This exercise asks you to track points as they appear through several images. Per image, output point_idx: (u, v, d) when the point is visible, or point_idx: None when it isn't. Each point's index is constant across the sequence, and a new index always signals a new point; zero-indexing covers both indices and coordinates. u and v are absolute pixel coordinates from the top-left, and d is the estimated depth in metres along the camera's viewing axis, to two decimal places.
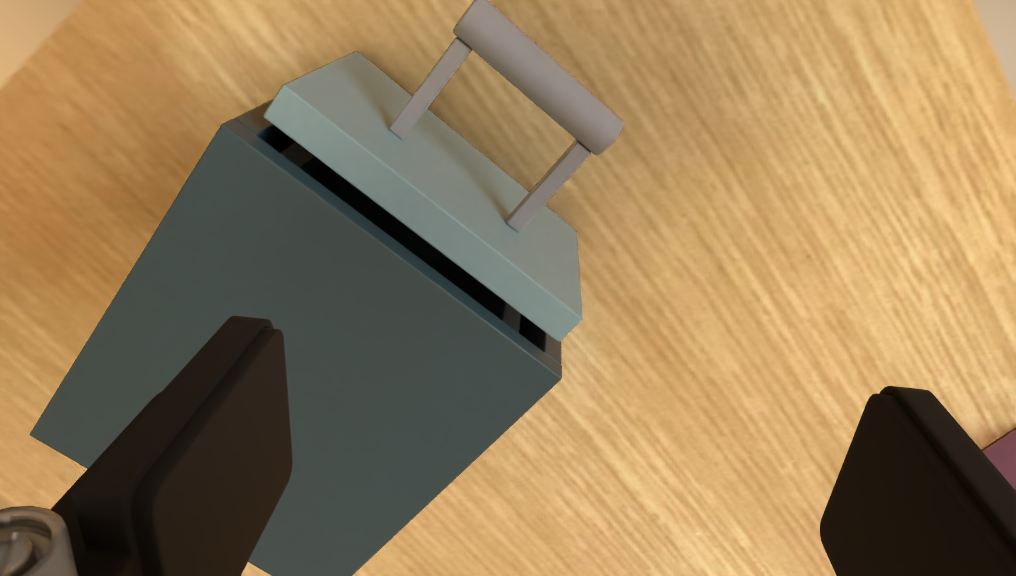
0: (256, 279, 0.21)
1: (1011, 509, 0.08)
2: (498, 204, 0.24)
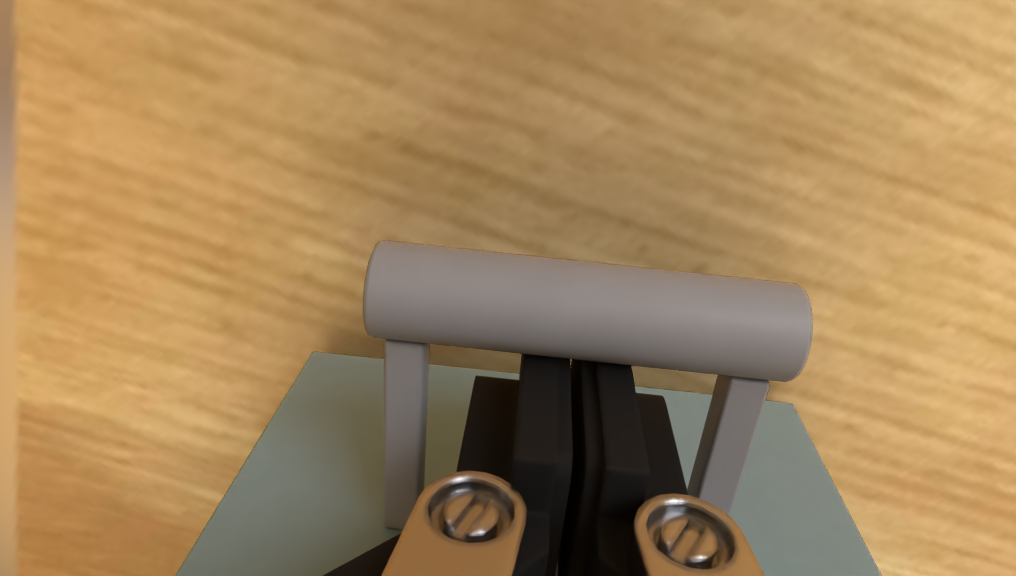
0: None
1: (619, 403, 0.09)
2: None
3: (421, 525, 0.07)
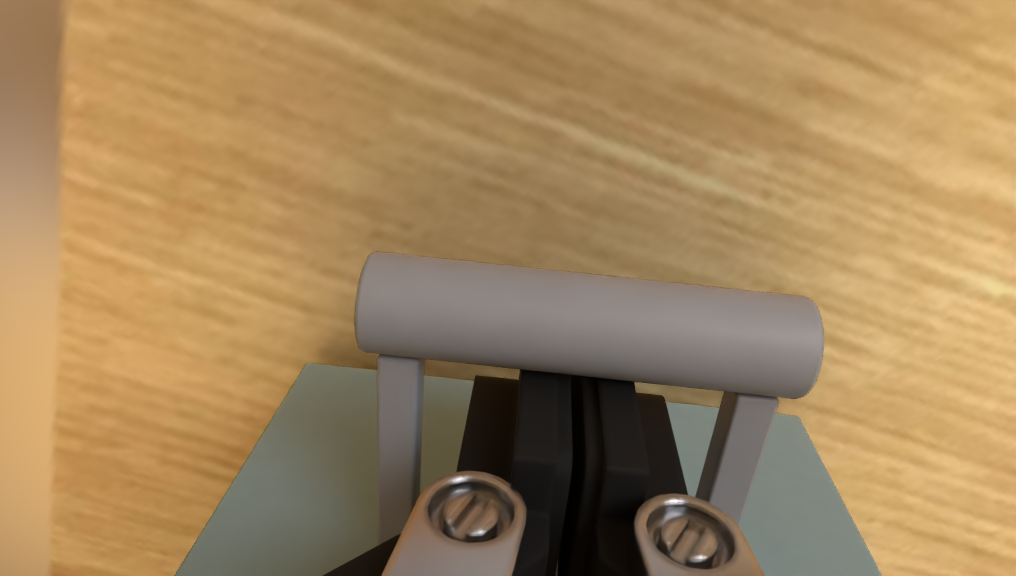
0: None
1: (619, 403, 0.09)
2: None
3: (421, 525, 0.07)
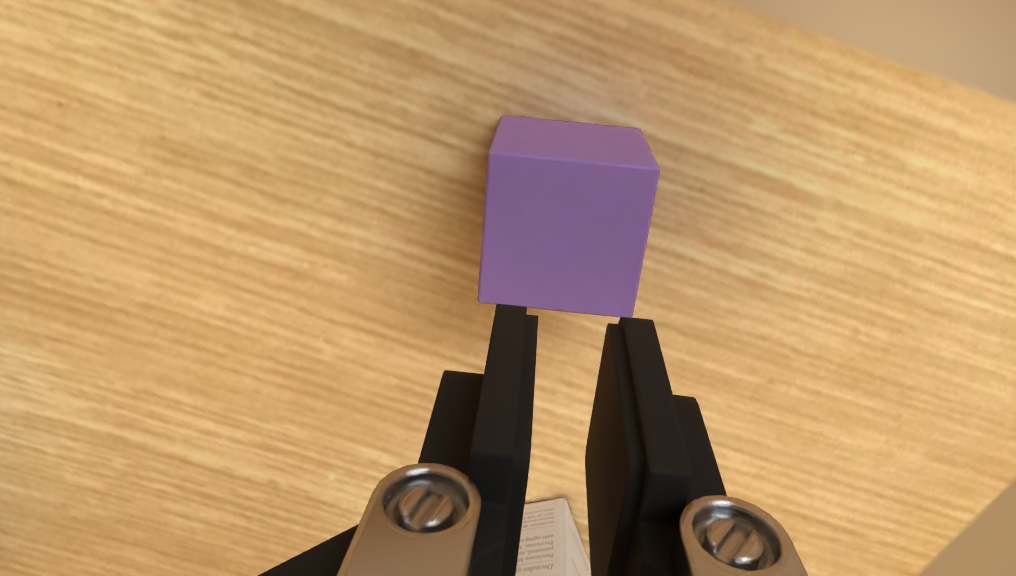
0: None
1: (657, 405, 0.09)
2: None
3: (374, 516, 0.07)
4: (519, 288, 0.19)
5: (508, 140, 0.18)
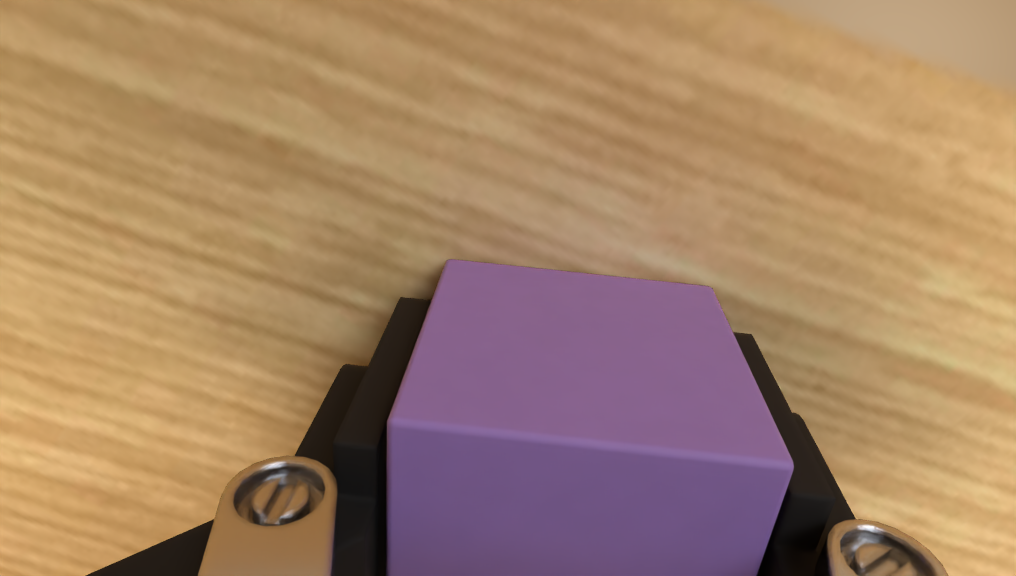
0: None
1: (779, 424, 0.09)
2: None
3: (223, 508, 0.07)
4: None
5: (444, 361, 0.08)
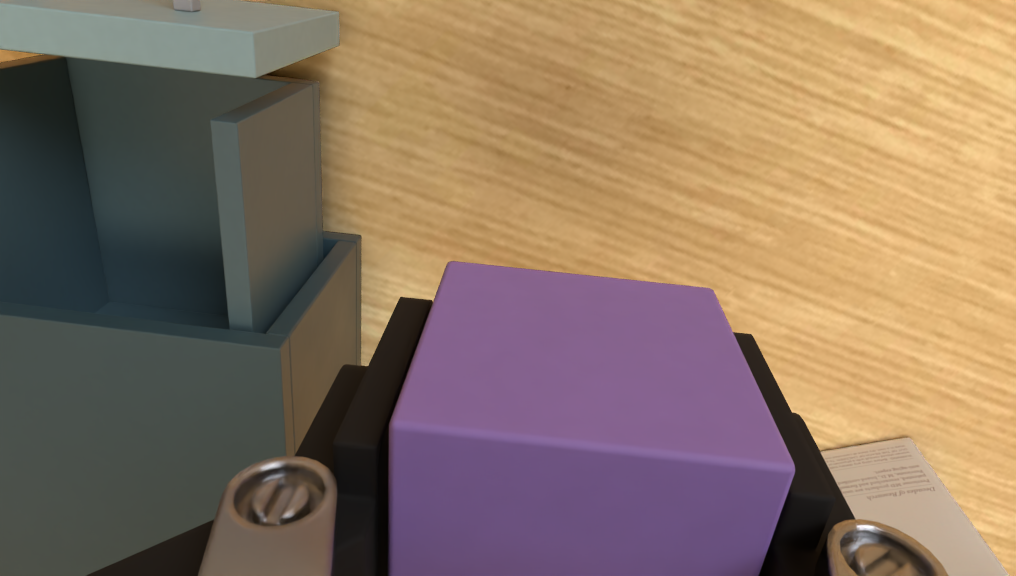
0: (6, 406, 0.23)
1: (780, 425, 0.09)
2: None
3: (223, 508, 0.07)
4: None
5: (446, 363, 0.08)
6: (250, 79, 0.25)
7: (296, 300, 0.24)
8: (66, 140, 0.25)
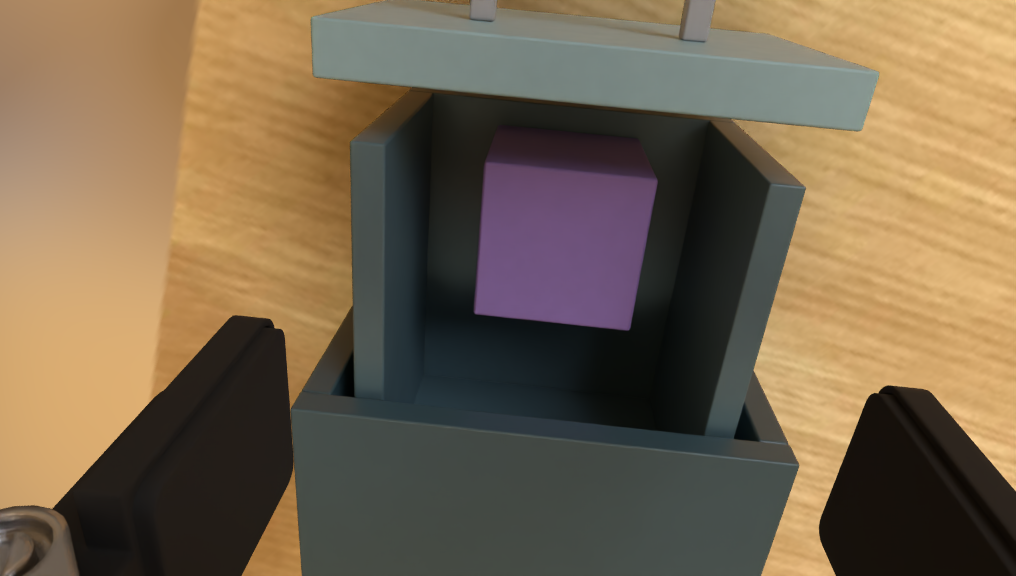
0: (413, 530, 0.18)
1: (1009, 508, 0.08)
2: (656, 33, 0.17)
3: None
4: (515, 300, 0.19)
5: (505, 151, 0.18)
6: (659, 117, 0.20)
7: None
8: (426, 193, 0.21)
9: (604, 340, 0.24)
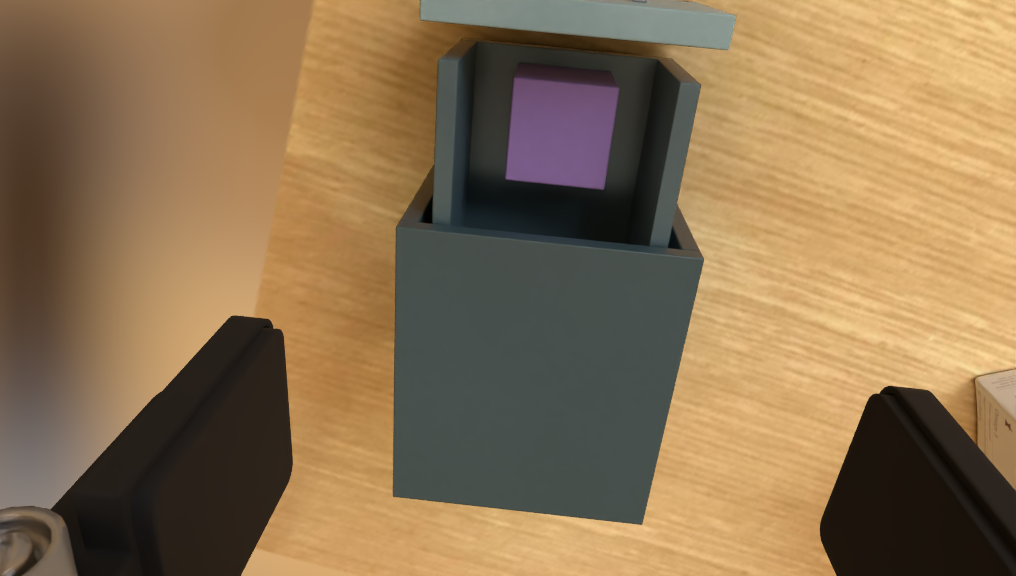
0: (468, 311, 0.29)
1: (1011, 509, 0.08)
2: None
3: None
4: (531, 169, 0.29)
5: (525, 73, 0.29)
6: (624, 57, 0.31)
7: (677, 229, 0.30)
8: (471, 108, 0.32)
9: (590, 216, 0.35)
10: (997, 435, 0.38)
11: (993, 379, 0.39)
